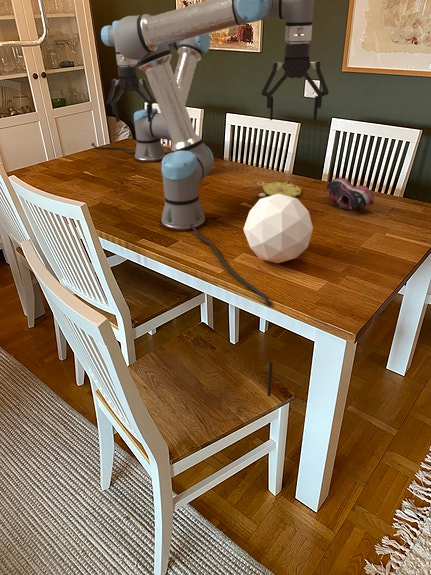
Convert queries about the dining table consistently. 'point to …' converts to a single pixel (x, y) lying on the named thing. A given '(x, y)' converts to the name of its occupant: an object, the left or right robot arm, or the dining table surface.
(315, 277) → the dining table surface
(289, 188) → the decorative object
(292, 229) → the sphere
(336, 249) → the dining table surface
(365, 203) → the athletic shoe
